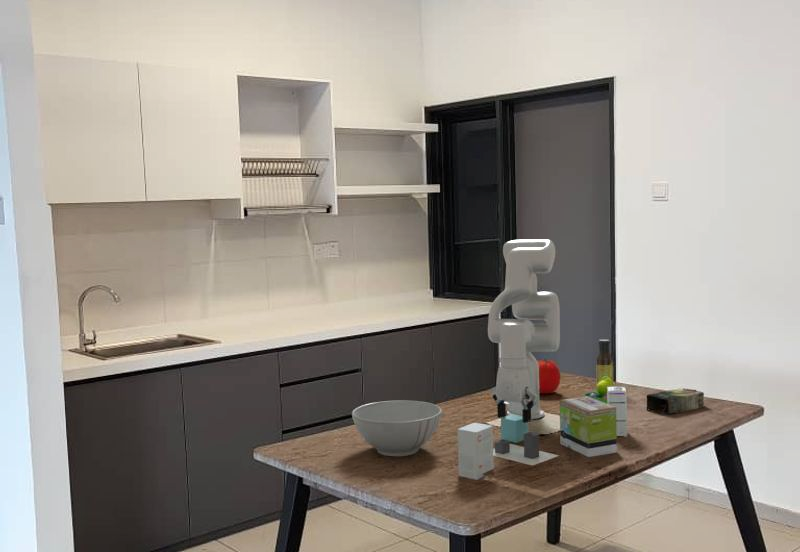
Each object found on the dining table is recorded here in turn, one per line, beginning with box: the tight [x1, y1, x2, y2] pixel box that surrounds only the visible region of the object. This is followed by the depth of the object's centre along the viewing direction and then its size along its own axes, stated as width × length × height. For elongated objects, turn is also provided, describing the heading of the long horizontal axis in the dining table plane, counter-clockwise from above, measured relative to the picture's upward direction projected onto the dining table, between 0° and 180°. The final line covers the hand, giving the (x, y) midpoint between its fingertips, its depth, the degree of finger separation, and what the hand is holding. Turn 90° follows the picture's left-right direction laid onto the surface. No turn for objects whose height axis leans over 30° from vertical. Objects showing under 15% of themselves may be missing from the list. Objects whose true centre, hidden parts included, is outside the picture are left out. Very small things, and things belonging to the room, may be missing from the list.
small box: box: [456, 422, 495, 481], centre depth 226 cm, size 8×6×13 cm
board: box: [493, 439, 560, 466], centre depth 240 cm, size 18×12×4 cm, turn 43°
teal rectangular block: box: [500, 414, 529, 444], centre depth 255 cm, size 6×6×8 cm
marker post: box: [523, 431, 540, 459], centre depth 237 cm, size 3×3×6 cm
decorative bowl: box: [351, 399, 443, 457], centre depth 250 cm, size 27×27×12 cm
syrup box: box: [607, 386, 628, 438], centre depth 261 cm, size 6×6×14 cm
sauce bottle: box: [595, 339, 615, 392], centre depth 318 cm, size 6×6×20 cm
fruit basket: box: [582, 376, 612, 404], centre depth 292 cm, size 11×9×11 cm
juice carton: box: [646, 387, 705, 415], centre depth 291 cm, size 20×10×6 cm, turn 123°
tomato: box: [537, 358, 561, 395], centre depth 319 cm, size 12×12×13 cm
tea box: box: [559, 396, 618, 458], centre depth 243 cm, size 15×10×15 cm, turn 22°
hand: (514, 419), depth 254 cm, fingers open, 9 cm apart
